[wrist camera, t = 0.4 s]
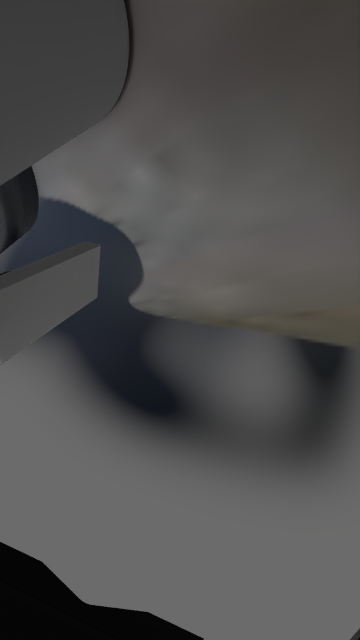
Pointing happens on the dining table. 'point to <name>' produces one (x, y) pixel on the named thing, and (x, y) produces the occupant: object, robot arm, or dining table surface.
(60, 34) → the cylinder vase
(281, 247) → the dining table surface
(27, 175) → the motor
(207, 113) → the dining table surface
